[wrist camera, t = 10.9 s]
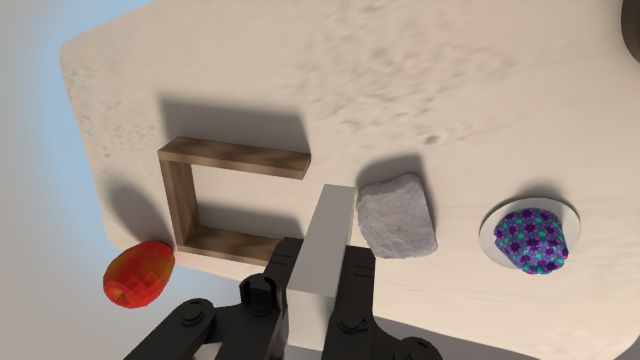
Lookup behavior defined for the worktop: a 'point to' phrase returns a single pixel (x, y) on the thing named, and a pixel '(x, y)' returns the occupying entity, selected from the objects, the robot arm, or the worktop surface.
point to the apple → (139, 274)
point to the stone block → (396, 218)
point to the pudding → (531, 235)
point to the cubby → (183, 198)
